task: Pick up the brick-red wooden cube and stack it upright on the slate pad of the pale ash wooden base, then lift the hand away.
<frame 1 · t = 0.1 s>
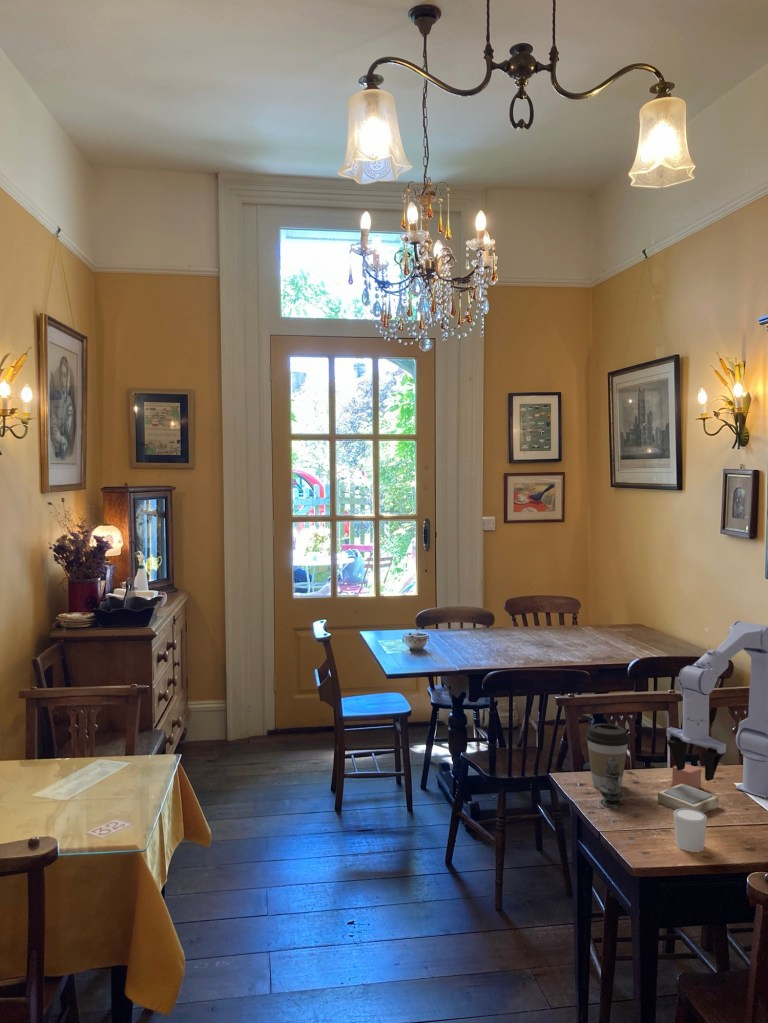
hand: (694, 774, 176), 10 cm above the table, tool pointing down, fingers open, 7 cm apart
block: (686, 786, 195), on the table
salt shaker: (611, 804, 184), on the table
coffee cup: (606, 786, 195), on the table
base: (687, 804, 183), on the table
shot glass: (689, 847, 162), on the table
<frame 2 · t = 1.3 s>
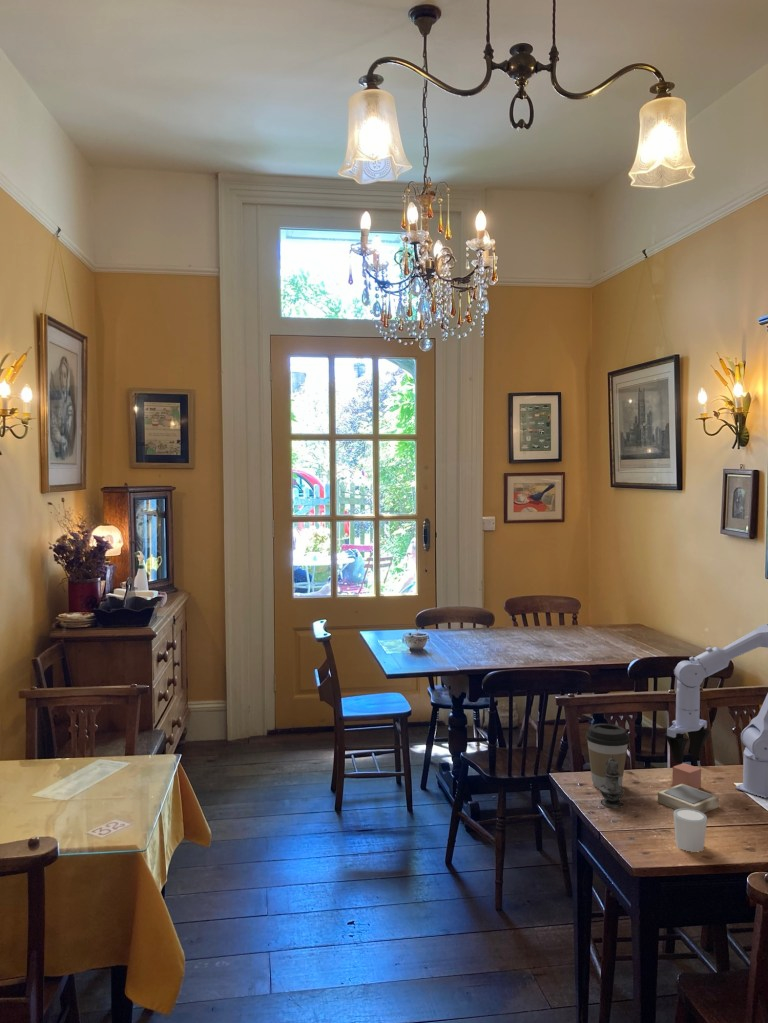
hand: (686, 759, 194), 7 cm above the table, tool pointing down, fingers open, 7 cm apart
nothing on the table moved.
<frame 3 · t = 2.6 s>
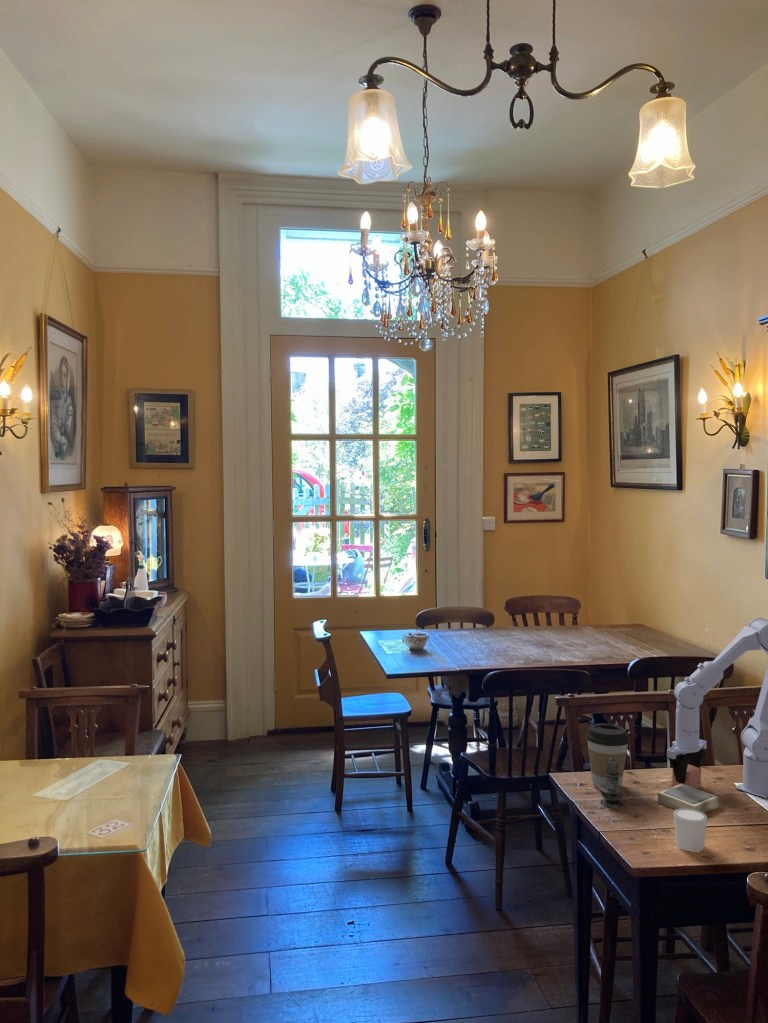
hand: (686, 780, 195), 2 cm above the table, tool pointing down, fingers closed on block, 5 cm apart
block: (686, 786, 195), on the table, touching gripper
everything else where it was.
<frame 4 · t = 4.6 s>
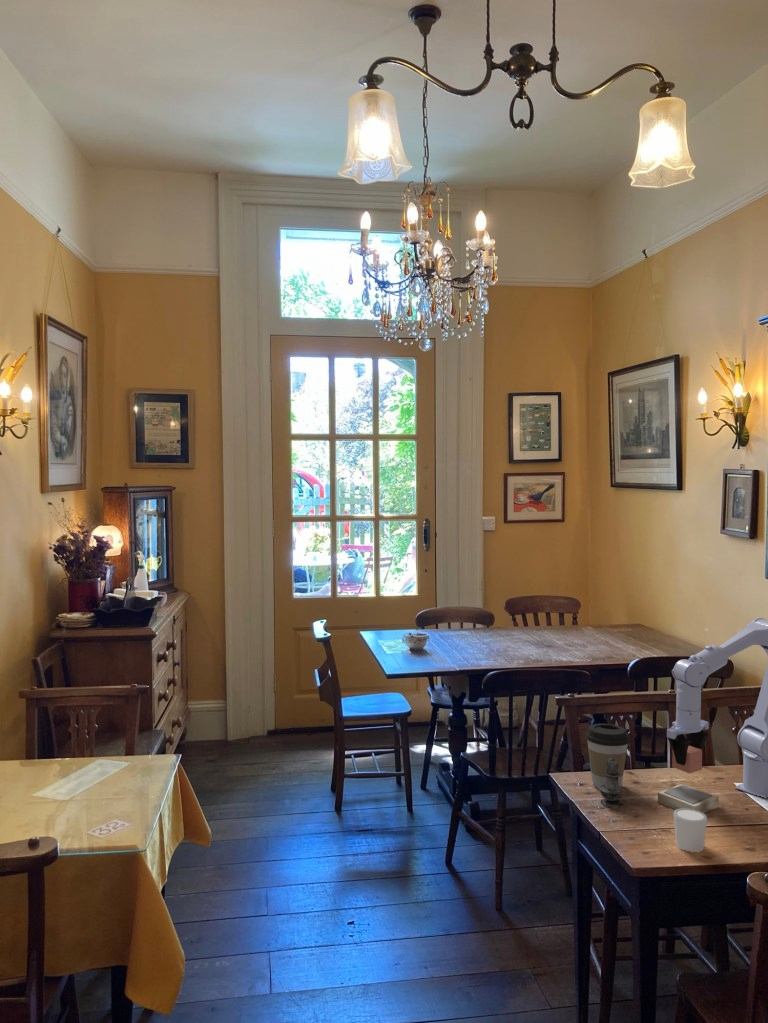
hand: (687, 761, 188), 9 cm above the table, tool pointing down, fingers closed on block, 5 cm apart
block: (686, 768, 188), point 7 cm above the table, touching gripper
everything else where it was.
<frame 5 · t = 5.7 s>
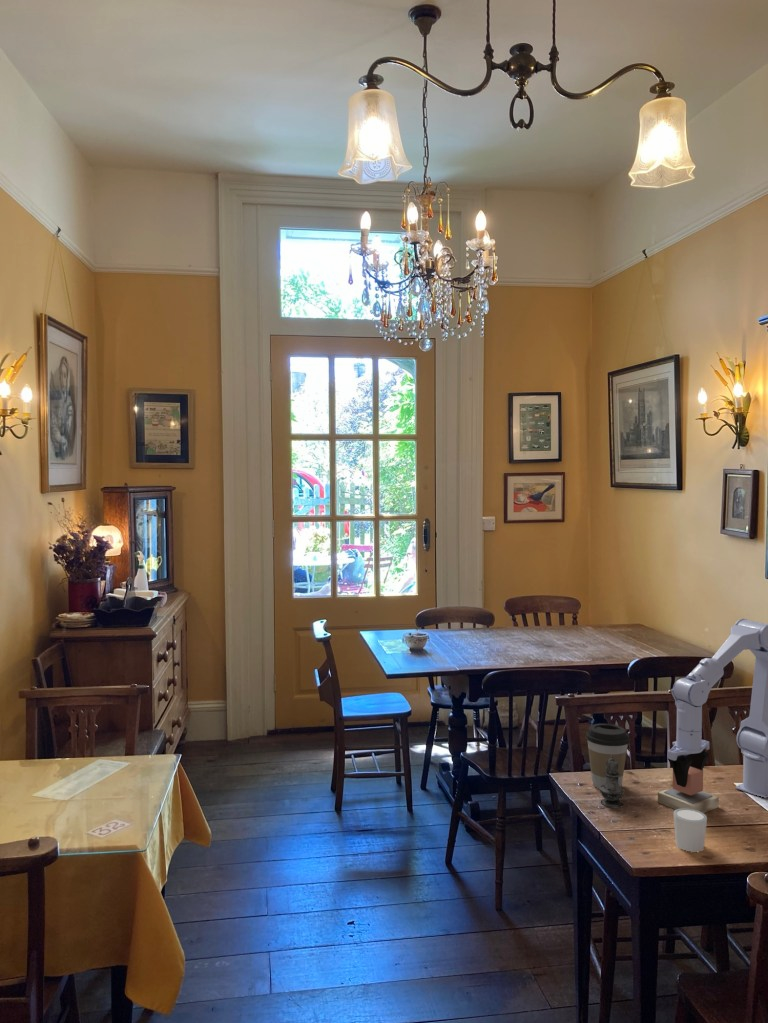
hand: (688, 783, 183), 5 cm above the table, tool pointing down, fingers closed on block, 5 cm apart
block: (687, 789, 183), point 4 cm above the table, touching gripper
everything else where it was.
when the fingers open (5 cm above the table, at t = 6.5 s): block stays where it is, resting on base.
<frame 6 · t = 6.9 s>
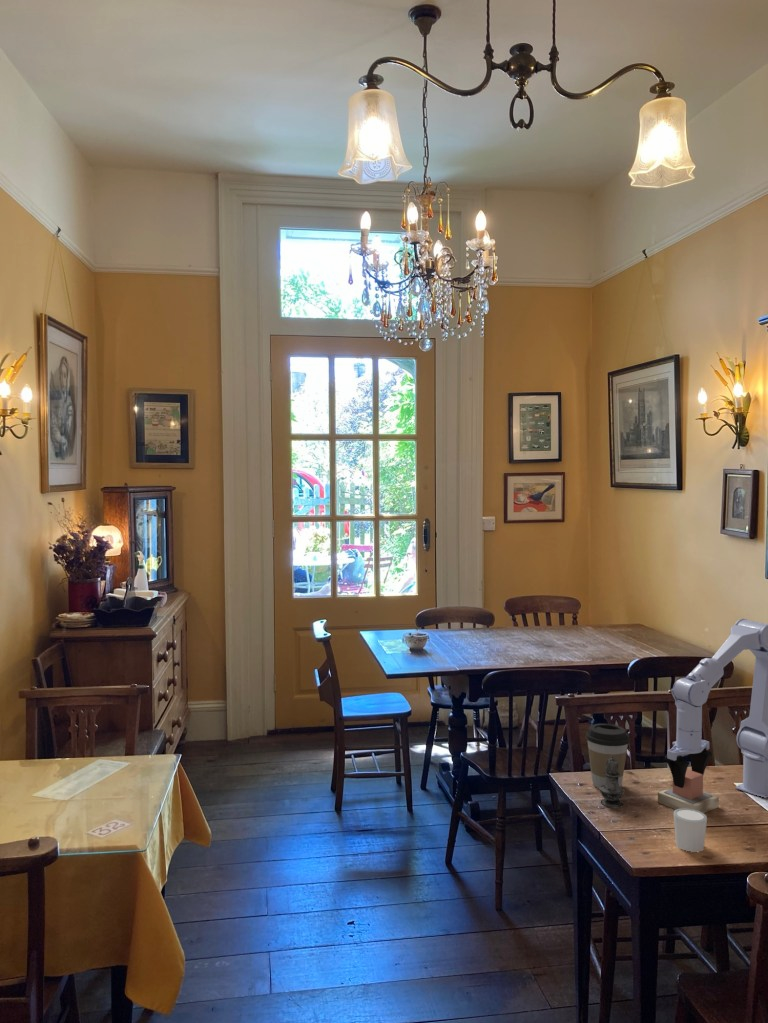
hand: (688, 783, 183), 5 cm above the table, tool pointing down, fingers open, 7 cm apart
block: (687, 793, 183), point 3 cm above the table, touching base
everything else where it was.
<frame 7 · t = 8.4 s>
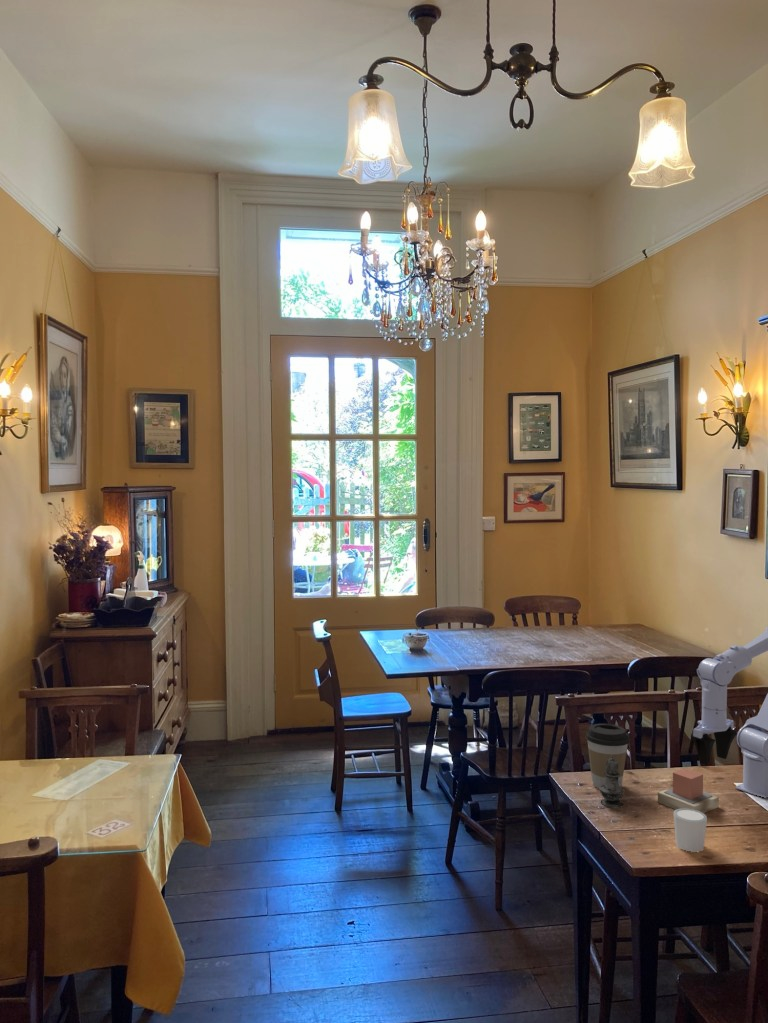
hand: (713, 760, 187), 9 cm above the table, tool pointing down, fingers open, 7 cm apart
nothing on the table moved.
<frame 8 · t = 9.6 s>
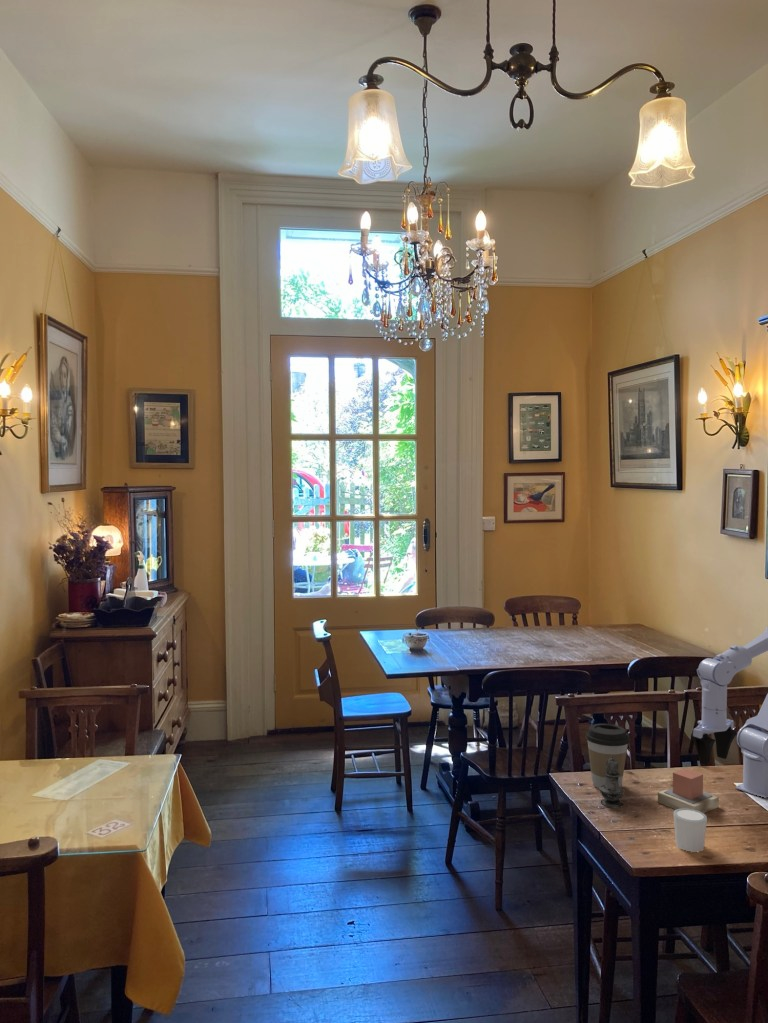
hand: (713, 760, 187), 9 cm above the table, tool pointing down, fingers open, 7 cm apart
nothing on the table moved.
at the end: block 0.1 cm off-centre on the base, point 2.7 cm above the base's base; block tilted 0°; the gripper is holding nothing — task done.
